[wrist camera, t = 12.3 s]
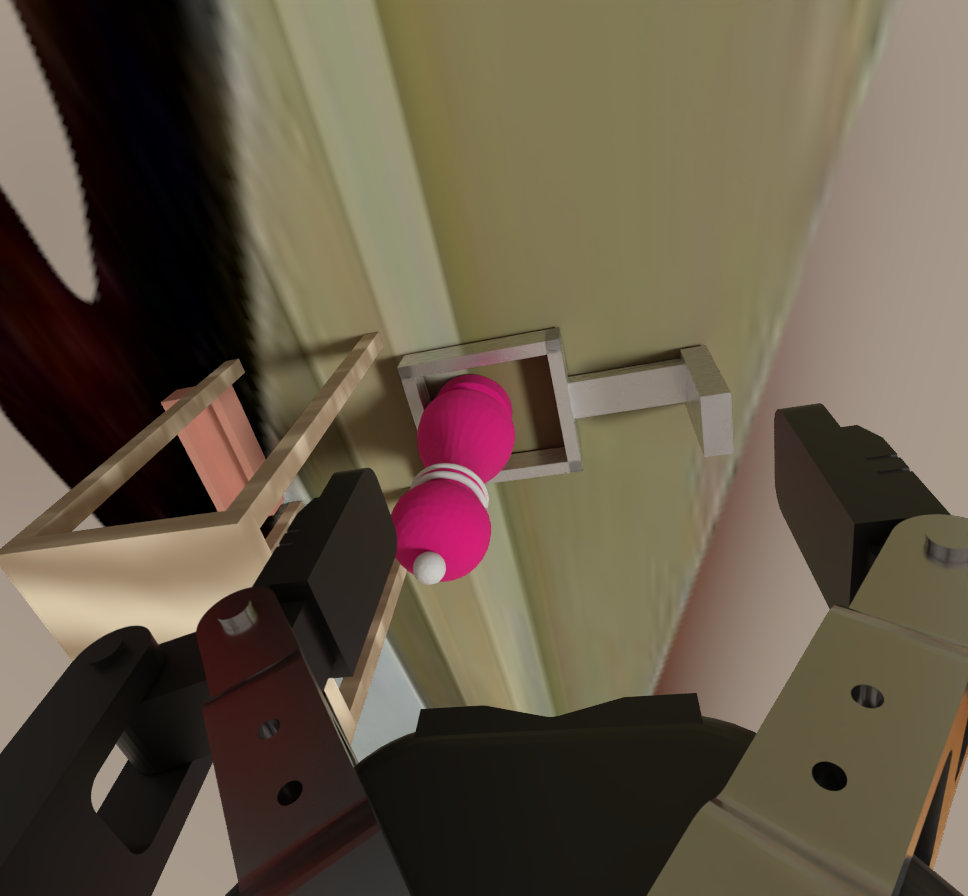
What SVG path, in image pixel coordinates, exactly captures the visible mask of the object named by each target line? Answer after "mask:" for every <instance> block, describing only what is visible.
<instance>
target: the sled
mask: <svg viewBox="0 0 968 896" xmlns="http://www.w3.org/2000/svg"><path fill="white" fill-rule="evenodd" d="M680 354H681V358H680V359H674V360H668V361H662V362H656V363H650V364H643V365H637V366H631V367H625V368H619V369H613V370H607V371H601V372H595V373H589V374H583V375H577V376H571V377H568V374H567V368H566V363H565V357H564V352H563V346H562V340H561V335H560V329H559V327H558V328H552V329H547V330H541V331H536V332H530V333H525V334H519V335H514V336H509V337H503V338H498V339H492V340H487V341H481V342H476V343H470V344H465V345H459V346H454V347H448V348H443V349H437V350H432V351H426V352H421V353H415V354H410V355H404V357H403V359H402V360H401V362H400V364H399V365H398V367H397V369H398V372H399V375H400V378H401V381H402V384H403V388H404V391H405V394H406V397H407V400H408V403H409V407H410V410H411V413H412V416H413V419H414V422H415V426H416V429H417V431H418V426H419V422H420V419H421V416H422V414H423V412H424V410H425V409H426V407H427V406H428V405H429V404H430V403H431V400H430V397H429V393H428V390H427V386H426V383H425V380H424V376H427V375H433V374H438V373H444V372H450V371H456V370H461V369H467V368H473V367H479V366H484V365H490V364H496V363H502V362H507V361H513V360H519V359H525V358H531V357H536V356H542V355H547V356H548V361H549V366H550V372H551V377H552V382H553V387H554V392H555V397H556V403H557V408H558V413H559V418H560V423H561V429H562V434H563V439H564V444H565V447H560V448H552V449H545V450H538V451H531V452H524V453H517V454H511V456H510V458H509V460H508V462H507V463H506V465H505V466H504V468H503V469H502V470H501V471H500V472H499V473H498V474H497V475H496V476H495V477H494V478H493V479H491V480H490V481H488V482H487V483H485V484H488V483H496V482H503V481H511V480H518V479H525V478H533V477H540V476H548V475H555V474H563V473H570V472H578V471H583V465H582V452H581V446H580V441H579V435H578V430H577V424H576V419H577V418H583V417H590V416H596V415H603V414H610V413H616V412H623V411H629V410H636V409H643V408H649V407H656V406H663V405H669V404H676V403H682V402H685V405H686V408H687V411H688V414H689V416H690V419H691V422H692V424H693V427H694V430H695V433H696V435H697V438H698V441H699V443H700V446H701V449H702V452H703V454H704V457H710V456H718V455H725V454H733V453H734V452H733V430H732V409H731V392H730V390H729V388H728V386H727V384H726V382H725V381H724V379H723V377H722V375H721V373H720V371H719V369H718V367H717V365H716V363H715V362H714V360H713V358H712V356H711V354H710V352H709V350H708V348H707V346H706V345H704V346H698V347H692V348H686V349H680Z"/></svg>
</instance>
